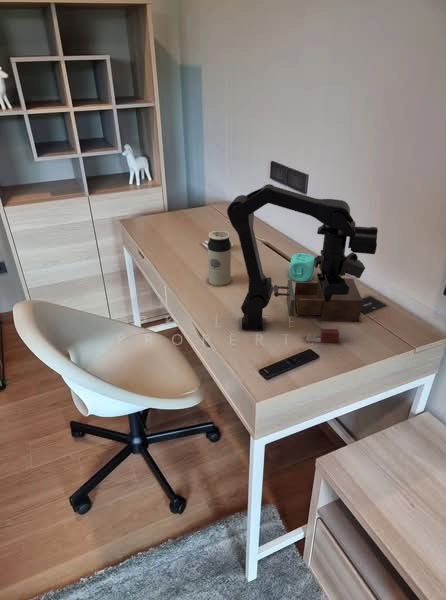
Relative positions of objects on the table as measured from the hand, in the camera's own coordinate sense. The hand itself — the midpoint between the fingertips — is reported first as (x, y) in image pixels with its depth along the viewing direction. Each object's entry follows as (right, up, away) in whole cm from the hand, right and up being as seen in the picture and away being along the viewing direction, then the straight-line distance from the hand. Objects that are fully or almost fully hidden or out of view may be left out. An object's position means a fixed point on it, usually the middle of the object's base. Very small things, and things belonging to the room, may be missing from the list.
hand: (327, 301), depth 120 cm
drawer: (-5, -1, +19) cm, 20 cm away
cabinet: (+7, -3, +19) cm, 20 cm away
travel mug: (-31, +7, +35) cm, 47 cm away
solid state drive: (+18, -2, +21) cm, 28 cm away
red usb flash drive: (-1, -11, +4) cm, 12 cm away
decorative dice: (0, +9, +38) cm, 39 cm away
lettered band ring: (-30, +22, +60) cm, 71 cm away
